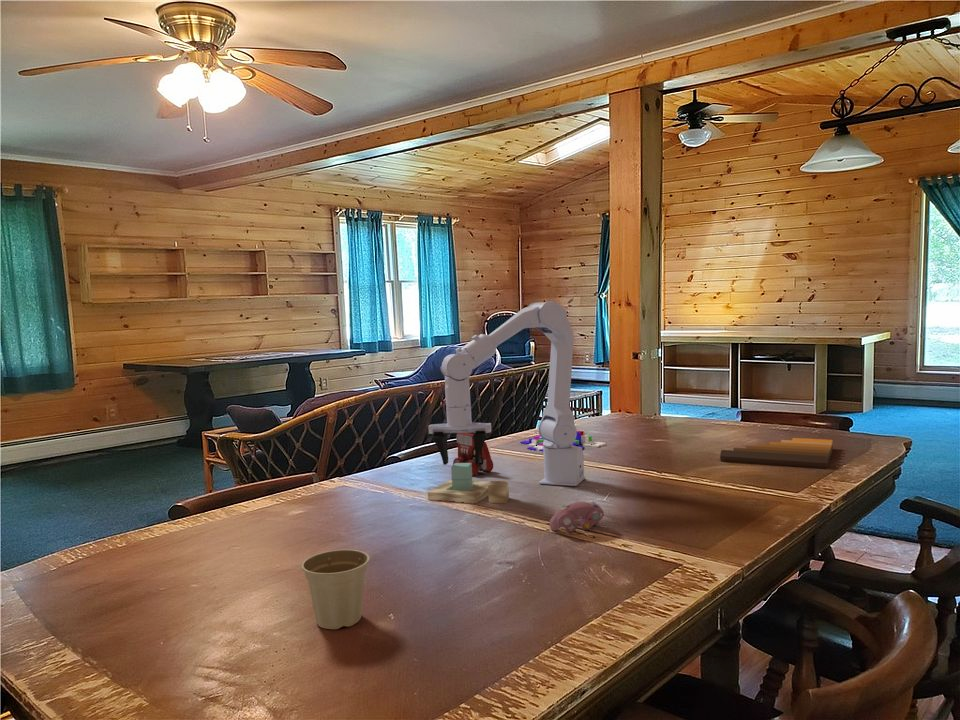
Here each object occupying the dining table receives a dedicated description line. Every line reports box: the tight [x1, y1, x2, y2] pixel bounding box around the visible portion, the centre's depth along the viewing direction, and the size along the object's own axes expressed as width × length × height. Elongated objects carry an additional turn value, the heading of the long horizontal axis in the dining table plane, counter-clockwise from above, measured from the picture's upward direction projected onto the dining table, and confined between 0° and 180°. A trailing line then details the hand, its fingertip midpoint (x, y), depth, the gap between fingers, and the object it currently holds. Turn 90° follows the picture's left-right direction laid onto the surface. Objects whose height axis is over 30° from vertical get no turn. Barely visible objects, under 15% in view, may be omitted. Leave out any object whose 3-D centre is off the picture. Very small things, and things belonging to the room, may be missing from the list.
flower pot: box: [301, 549, 371, 630], centre depth 96 cm, size 9×9×9 cm
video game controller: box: [549, 501, 605, 533], centre depth 130 cm, size 10×5×7 cm, turn 106°
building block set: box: [519, 429, 607, 452], centre depth 211 cm, size 25×20×4 cm
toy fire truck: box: [452, 433, 494, 477], centre depth 181 cm, size 7×12×10 cm, turn 40°
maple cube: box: [487, 480, 510, 504], centre depth 153 cm, size 4×4×4 cm
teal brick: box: [450, 463, 473, 491], centre depth 159 cm, size 4×4×6 cm
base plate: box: [427, 478, 490, 504], centre depth 159 cm, size 12×12×2 cm
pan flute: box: [719, 437, 834, 470], centre depth 183 cm, size 25×3×25 cm
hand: (461, 463), depth 159 cm, fingers open, 7 cm apart
